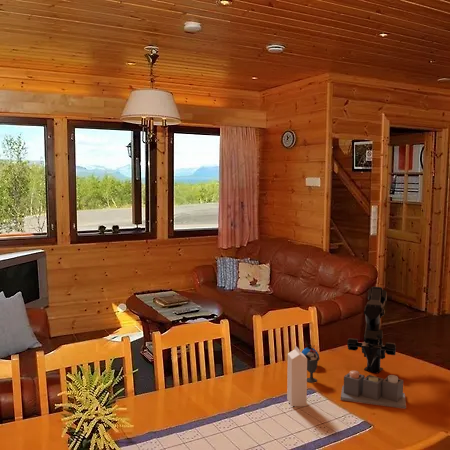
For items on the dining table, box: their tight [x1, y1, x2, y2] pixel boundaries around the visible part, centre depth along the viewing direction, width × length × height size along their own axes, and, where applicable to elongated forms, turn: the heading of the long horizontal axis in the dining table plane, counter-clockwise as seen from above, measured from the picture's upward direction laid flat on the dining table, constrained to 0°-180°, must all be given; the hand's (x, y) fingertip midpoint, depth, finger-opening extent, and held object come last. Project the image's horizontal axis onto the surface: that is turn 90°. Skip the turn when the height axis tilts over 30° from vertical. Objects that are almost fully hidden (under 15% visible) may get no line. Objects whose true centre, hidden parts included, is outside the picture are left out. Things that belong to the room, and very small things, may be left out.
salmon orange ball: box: [349, 370, 360, 379], centre depth 191 cm, size 4×4×4 cm
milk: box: [286, 345, 308, 407], centre depth 185 cm, size 6×6×22 cm
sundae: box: [305, 345, 320, 384], centre depth 206 cm, size 7×7×15 cm
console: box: [340, 372, 407, 409], centre depth 189 cm, size 11×24×8 cm, turn 72°
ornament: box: [301, 343, 320, 358], centre depth 222 cm, size 9×9×10 cm
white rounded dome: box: [387, 374, 399, 384], centre depth 187 cm, size 4×4×4 cm
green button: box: [368, 375, 378, 382], centre depth 189 cm, size 4×4×4 cm
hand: (369, 366), depth 191 cm, fingers closed
